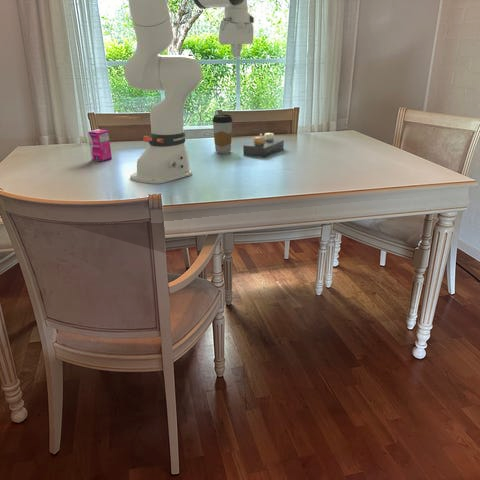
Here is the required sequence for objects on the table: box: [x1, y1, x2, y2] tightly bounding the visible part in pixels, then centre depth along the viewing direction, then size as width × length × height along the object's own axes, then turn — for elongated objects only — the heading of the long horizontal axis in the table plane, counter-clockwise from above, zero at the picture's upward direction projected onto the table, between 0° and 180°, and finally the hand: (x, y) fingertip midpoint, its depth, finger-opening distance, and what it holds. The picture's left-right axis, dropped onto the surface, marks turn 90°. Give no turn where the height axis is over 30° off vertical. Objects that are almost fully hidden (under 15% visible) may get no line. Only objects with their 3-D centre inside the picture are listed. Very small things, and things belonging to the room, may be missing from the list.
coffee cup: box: [211, 113, 234, 155], centre depth 186 cm, size 8×8×15 cm
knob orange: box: [253, 136, 264, 146], centre depth 184 cm, size 4×4×7 cm
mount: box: [242, 138, 285, 159], centre depth 188 cm, size 17×10×4 cm, turn 149°
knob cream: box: [263, 132, 275, 142], centre depth 191 cm, size 4×4×7 cm
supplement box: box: [87, 128, 113, 163], centre depth 176 cm, size 6×6×12 cm
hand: (236, 57), depth 176 cm, fingers closed
